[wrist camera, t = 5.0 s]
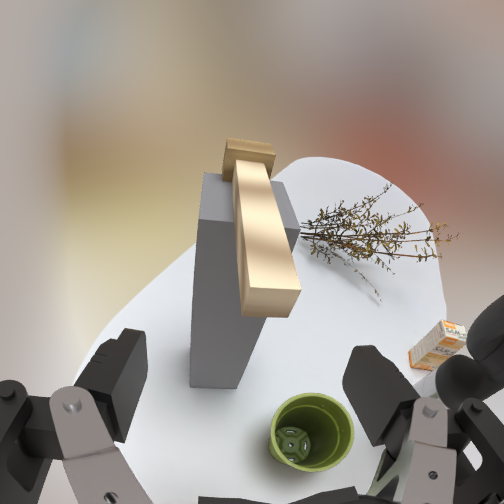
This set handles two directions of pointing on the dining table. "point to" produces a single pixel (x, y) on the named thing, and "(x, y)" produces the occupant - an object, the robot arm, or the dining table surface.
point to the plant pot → (311, 432)
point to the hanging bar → (259, 232)
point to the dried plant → (361, 235)
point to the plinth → (224, 288)
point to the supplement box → (438, 345)
